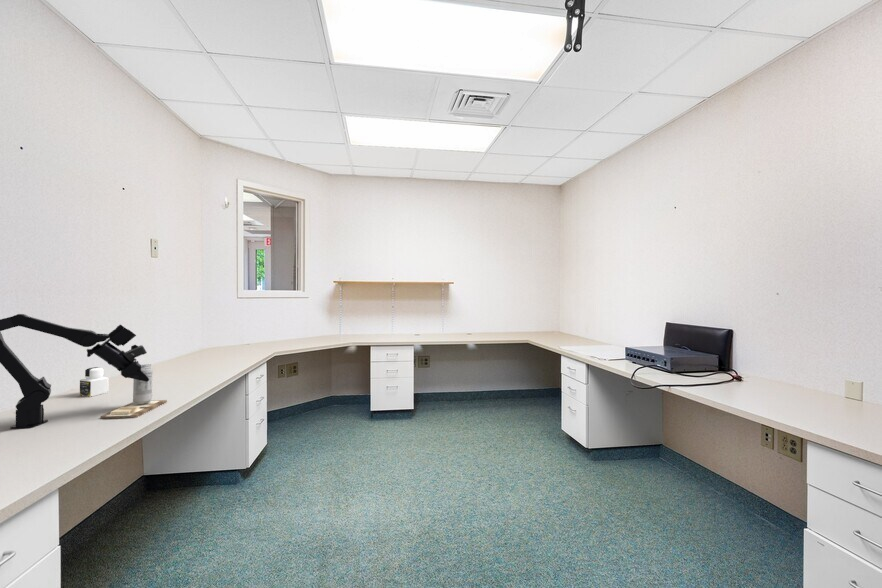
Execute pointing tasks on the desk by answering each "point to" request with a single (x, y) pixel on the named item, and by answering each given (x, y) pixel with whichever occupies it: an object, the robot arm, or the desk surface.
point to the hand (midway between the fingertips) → (147, 379)
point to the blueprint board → (133, 409)
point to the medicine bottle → (94, 382)
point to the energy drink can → (143, 386)
